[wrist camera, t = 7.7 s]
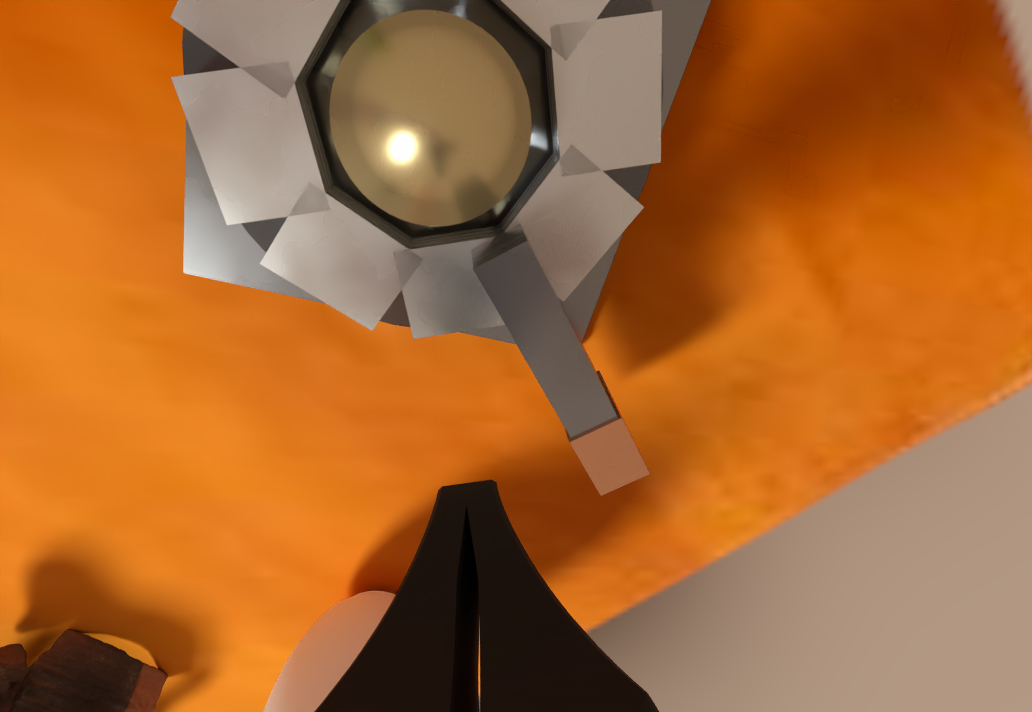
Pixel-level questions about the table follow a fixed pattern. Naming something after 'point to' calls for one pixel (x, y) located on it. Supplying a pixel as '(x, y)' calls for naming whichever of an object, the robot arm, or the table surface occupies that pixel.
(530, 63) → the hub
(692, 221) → the table surface
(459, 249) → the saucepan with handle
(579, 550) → the table surface
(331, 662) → the air blower bulb
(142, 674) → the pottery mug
